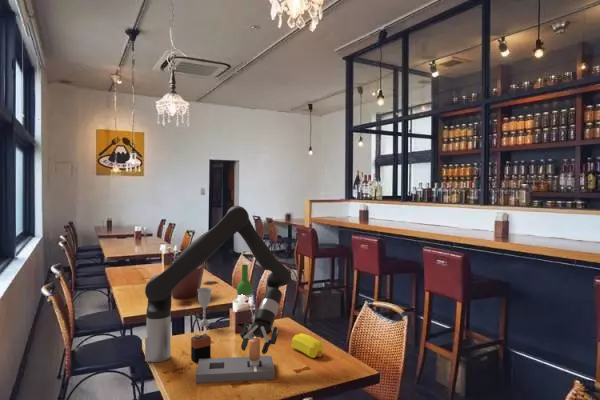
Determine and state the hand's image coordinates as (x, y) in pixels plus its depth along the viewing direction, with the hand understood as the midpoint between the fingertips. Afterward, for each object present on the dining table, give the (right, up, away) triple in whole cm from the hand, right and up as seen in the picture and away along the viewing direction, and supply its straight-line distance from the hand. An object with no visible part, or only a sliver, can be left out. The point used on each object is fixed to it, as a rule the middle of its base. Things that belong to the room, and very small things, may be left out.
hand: (253, 351), depth 159 cm
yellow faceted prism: (+21, -8, +22) cm, 31 cm away
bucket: (-56, -4, +111) cm, 124 cm away
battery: (-22, -8, +12) cm, 27 cm away
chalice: (-31, -6, +55) cm, 63 cm away
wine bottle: (-11, -6, +57) cm, 59 cm away
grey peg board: (-7, -8, +1) cm, 10 cm away
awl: (0, -8, +2) cm, 8 cm away
